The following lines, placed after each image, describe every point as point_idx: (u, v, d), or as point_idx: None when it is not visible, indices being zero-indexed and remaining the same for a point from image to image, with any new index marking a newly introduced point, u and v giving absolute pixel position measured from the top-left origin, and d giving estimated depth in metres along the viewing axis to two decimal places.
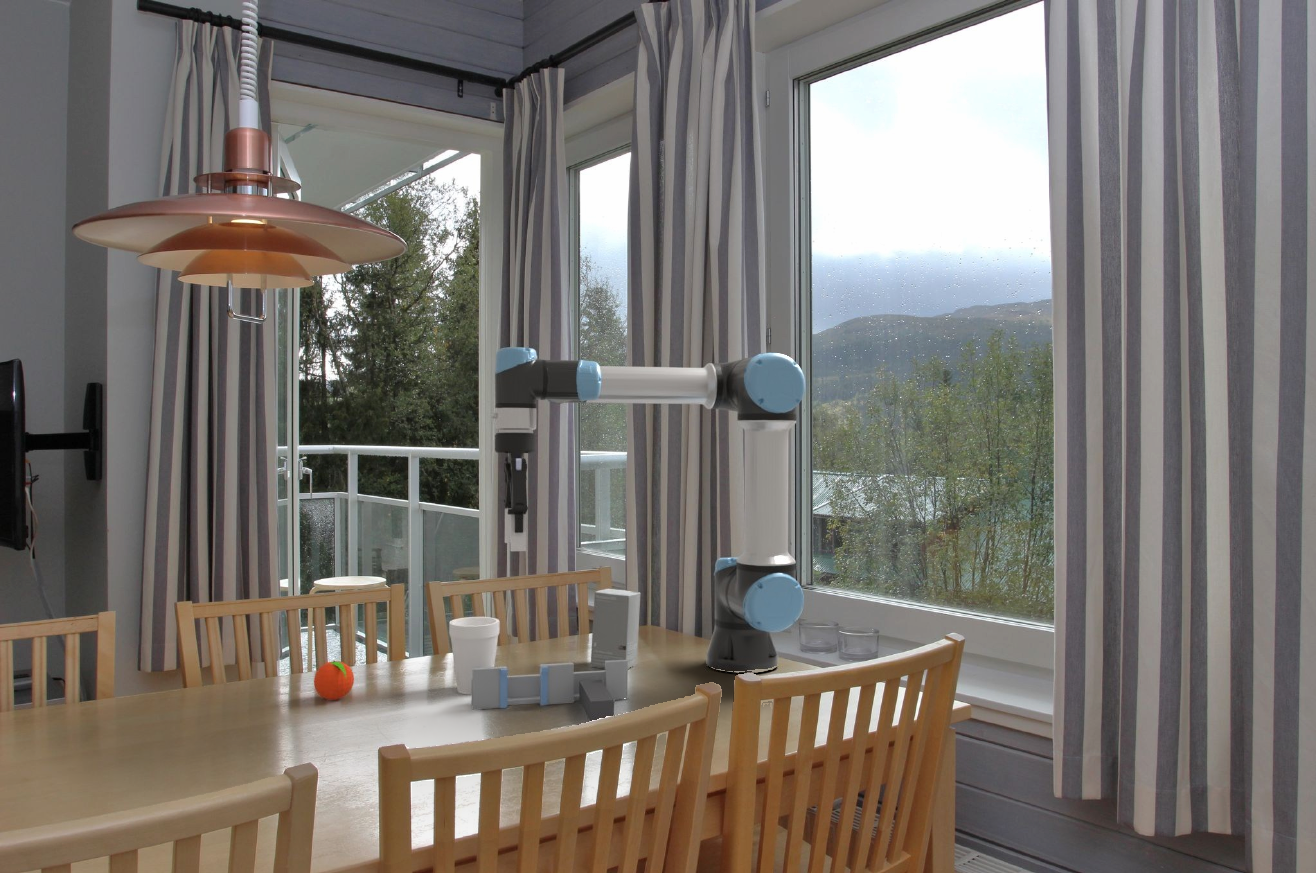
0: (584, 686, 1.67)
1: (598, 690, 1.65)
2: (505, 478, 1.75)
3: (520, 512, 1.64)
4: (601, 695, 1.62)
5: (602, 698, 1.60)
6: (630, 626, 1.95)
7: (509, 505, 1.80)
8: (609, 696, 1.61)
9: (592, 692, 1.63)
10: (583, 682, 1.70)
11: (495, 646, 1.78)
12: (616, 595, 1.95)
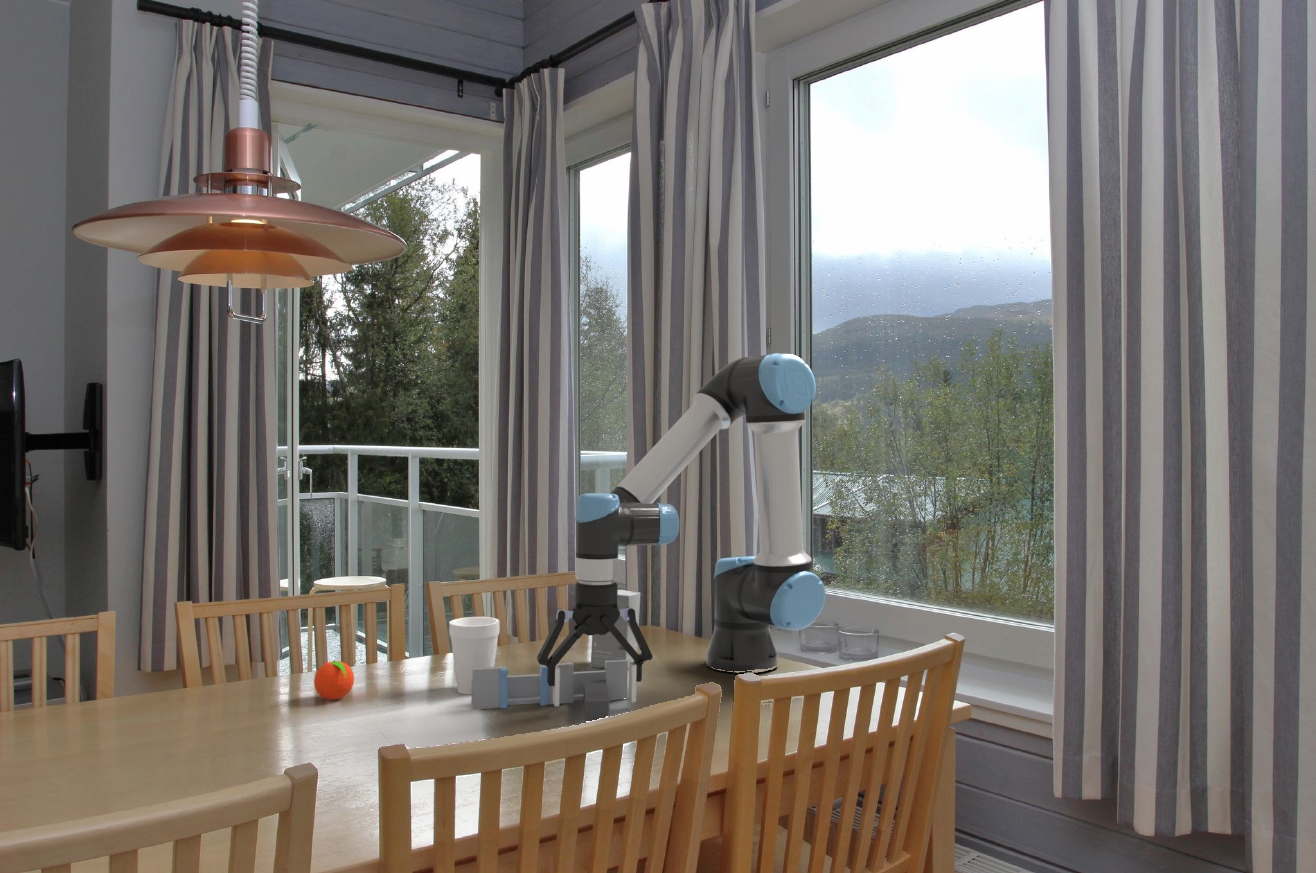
0: (586, 686, 1.67)
1: (597, 690, 1.65)
2: None
3: (543, 664, 1.63)
4: (598, 696, 1.61)
5: (597, 698, 1.60)
6: None
7: (634, 659, 1.67)
8: (606, 697, 1.61)
9: (591, 692, 1.64)
10: (587, 682, 1.71)
11: (495, 646, 1.78)
12: None
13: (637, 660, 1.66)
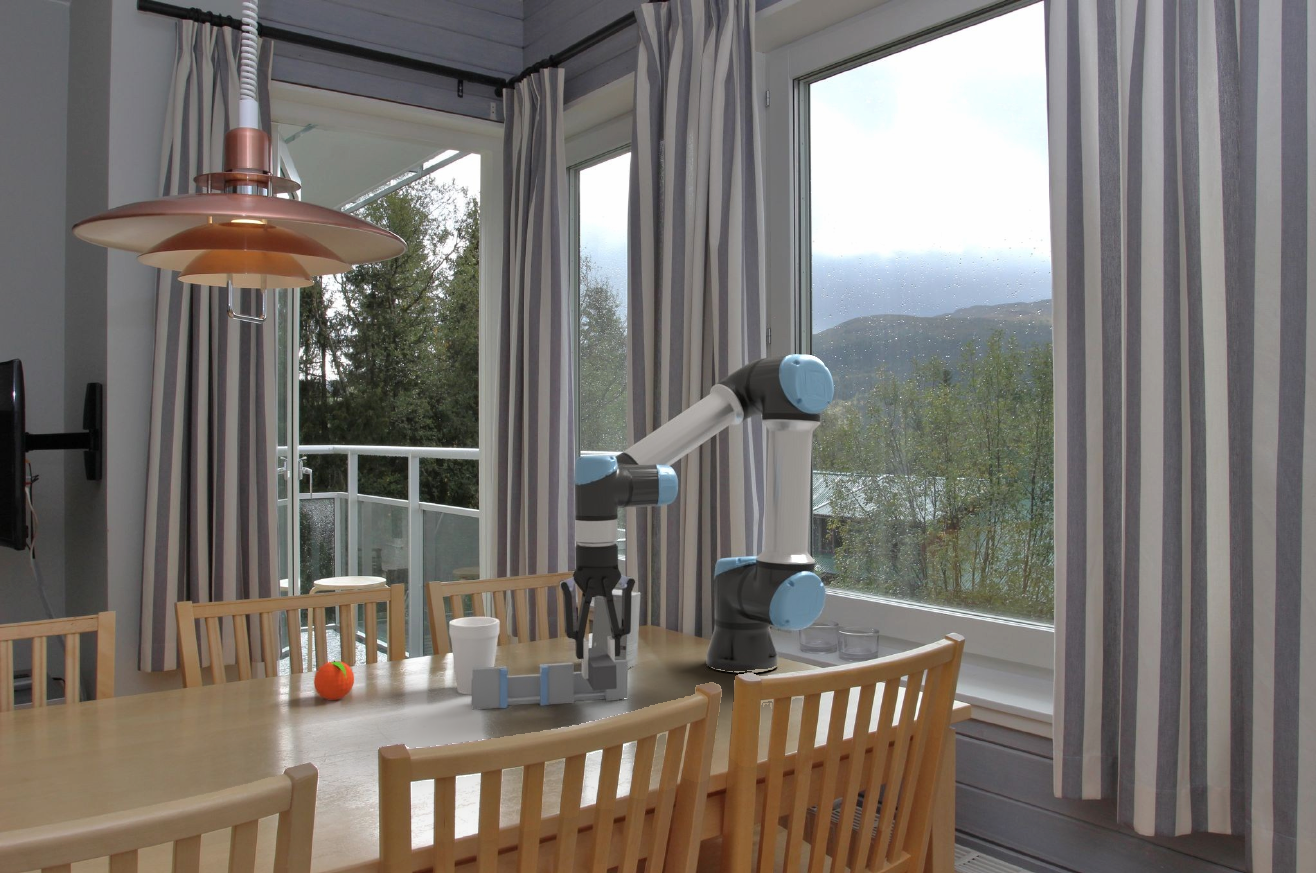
0: None
1: (600, 656, 1.65)
2: None
3: None
4: (603, 661, 1.62)
5: (604, 664, 1.60)
6: None
7: (612, 634, 1.67)
8: (611, 662, 1.61)
9: (594, 658, 1.64)
10: None
11: (495, 646, 1.78)
12: (616, 595, 1.95)
13: (615, 634, 1.65)
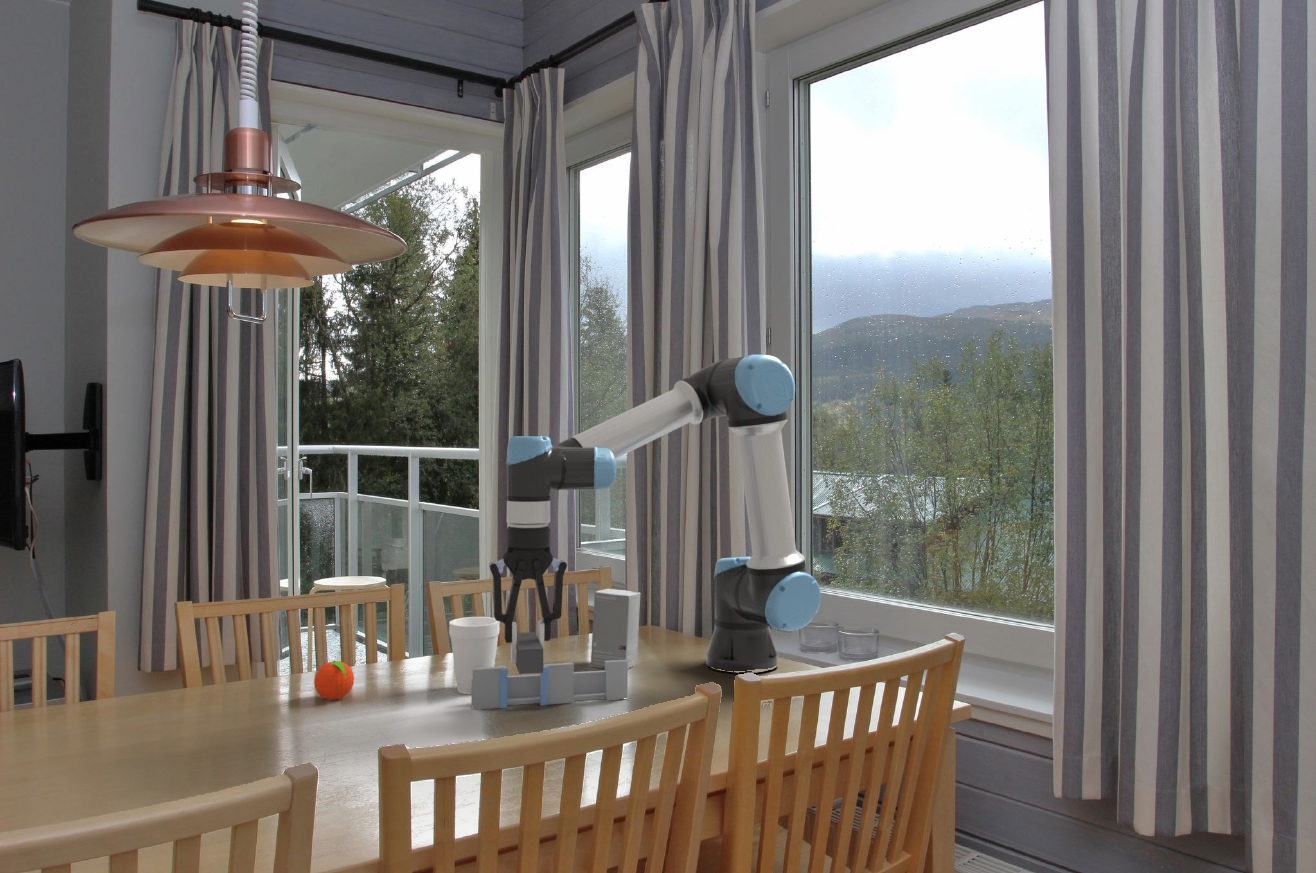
0: None
1: (529, 640, 1.62)
2: None
3: (500, 621, 1.61)
4: (531, 645, 1.59)
5: (531, 647, 1.57)
6: (630, 626, 1.95)
7: None
8: (539, 645, 1.58)
9: (523, 642, 1.60)
10: None
11: (495, 646, 1.78)
12: (616, 595, 1.95)
13: (545, 618, 1.62)
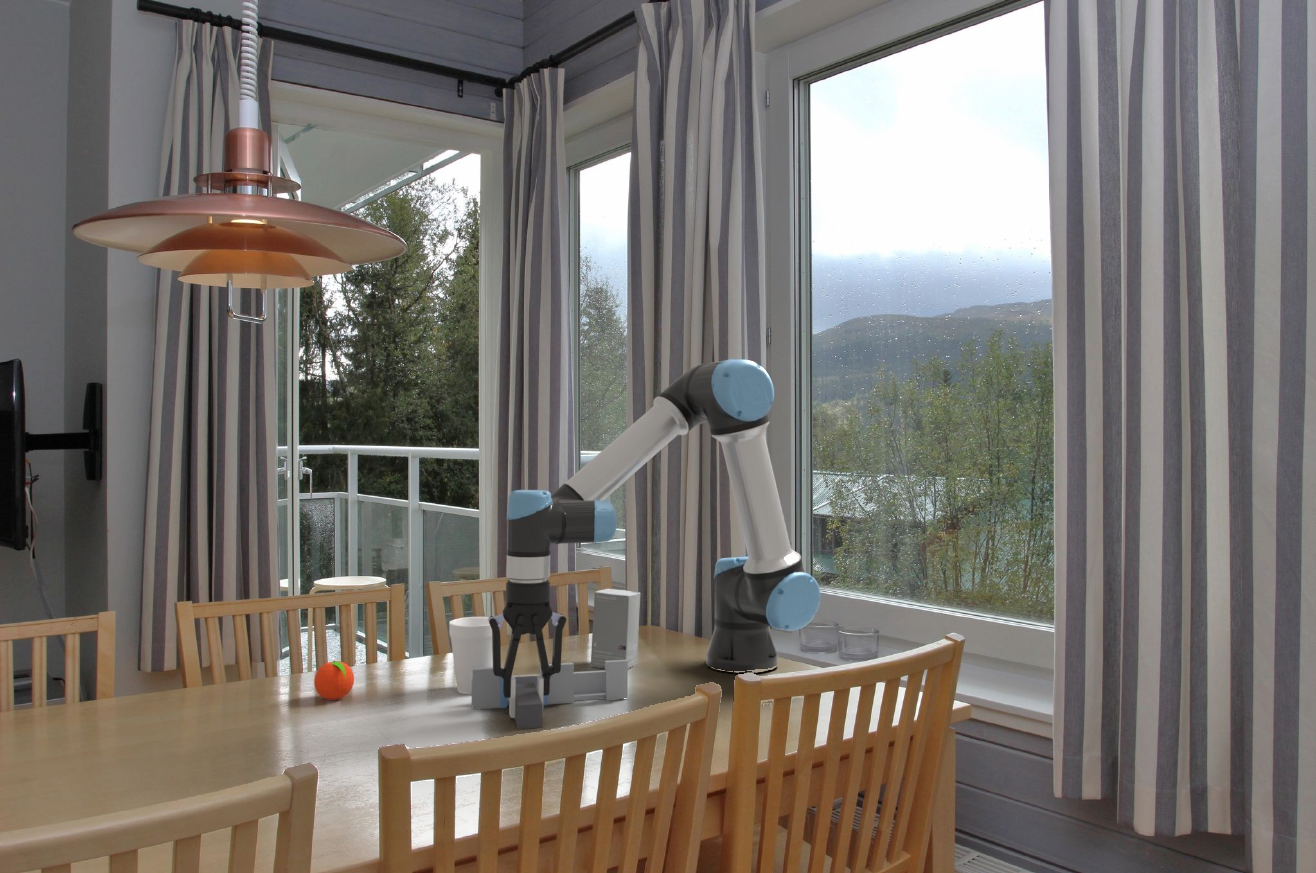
0: None
1: (528, 693, 1.62)
2: None
3: (499, 675, 1.61)
4: (530, 699, 1.58)
5: (530, 702, 1.57)
6: (630, 626, 1.95)
7: (542, 672, 1.63)
8: (538, 700, 1.58)
9: (522, 696, 1.60)
10: None
11: None
12: (616, 595, 1.95)
13: (545, 672, 1.62)
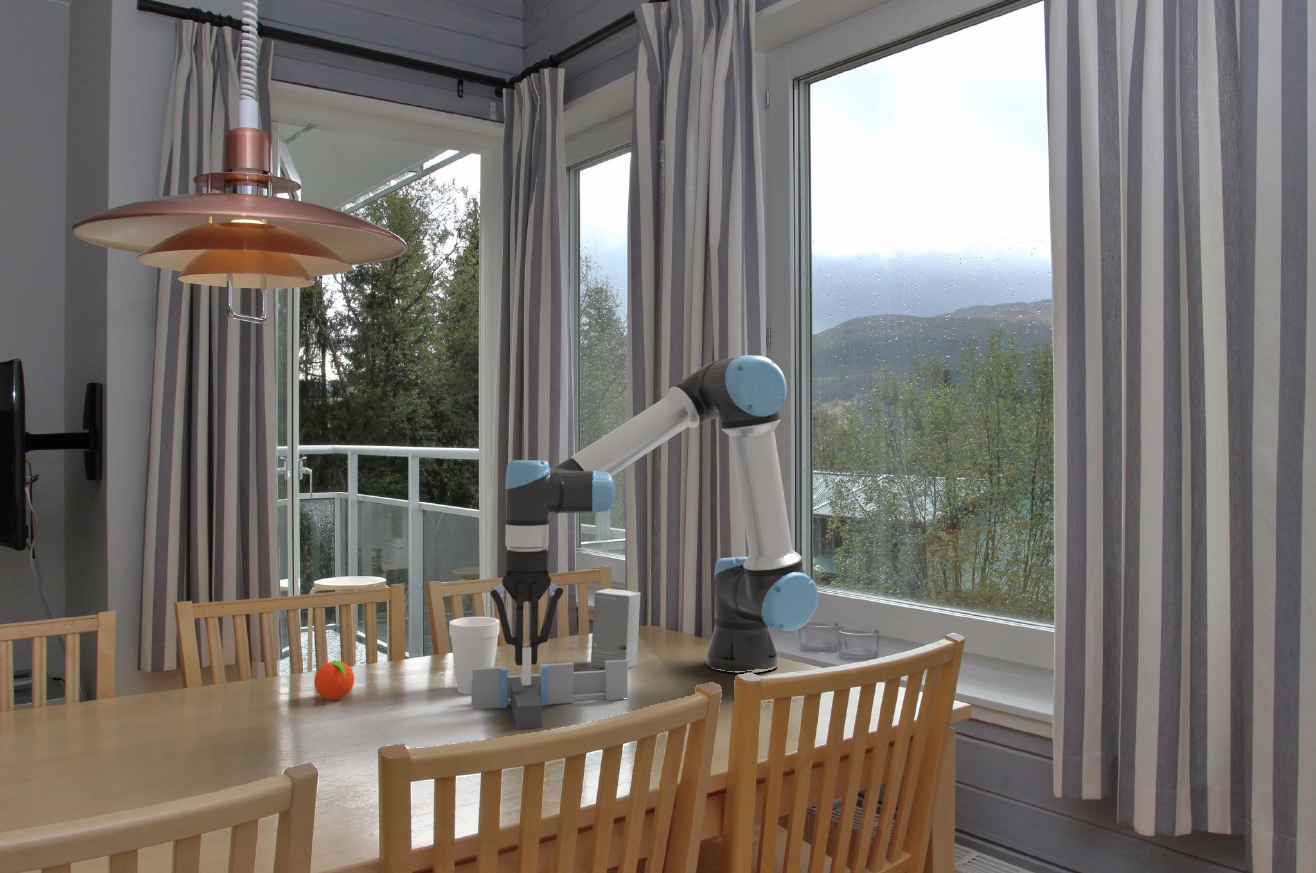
0: (515, 691, 1.64)
1: (528, 694, 1.62)
2: None
3: None
4: (529, 700, 1.58)
5: (530, 703, 1.57)
6: (630, 626, 1.95)
7: None
8: (538, 701, 1.58)
9: (521, 697, 1.60)
10: (514, 686, 1.67)
11: (495, 646, 1.78)
12: (616, 595, 1.95)
13: (533, 641, 1.63)
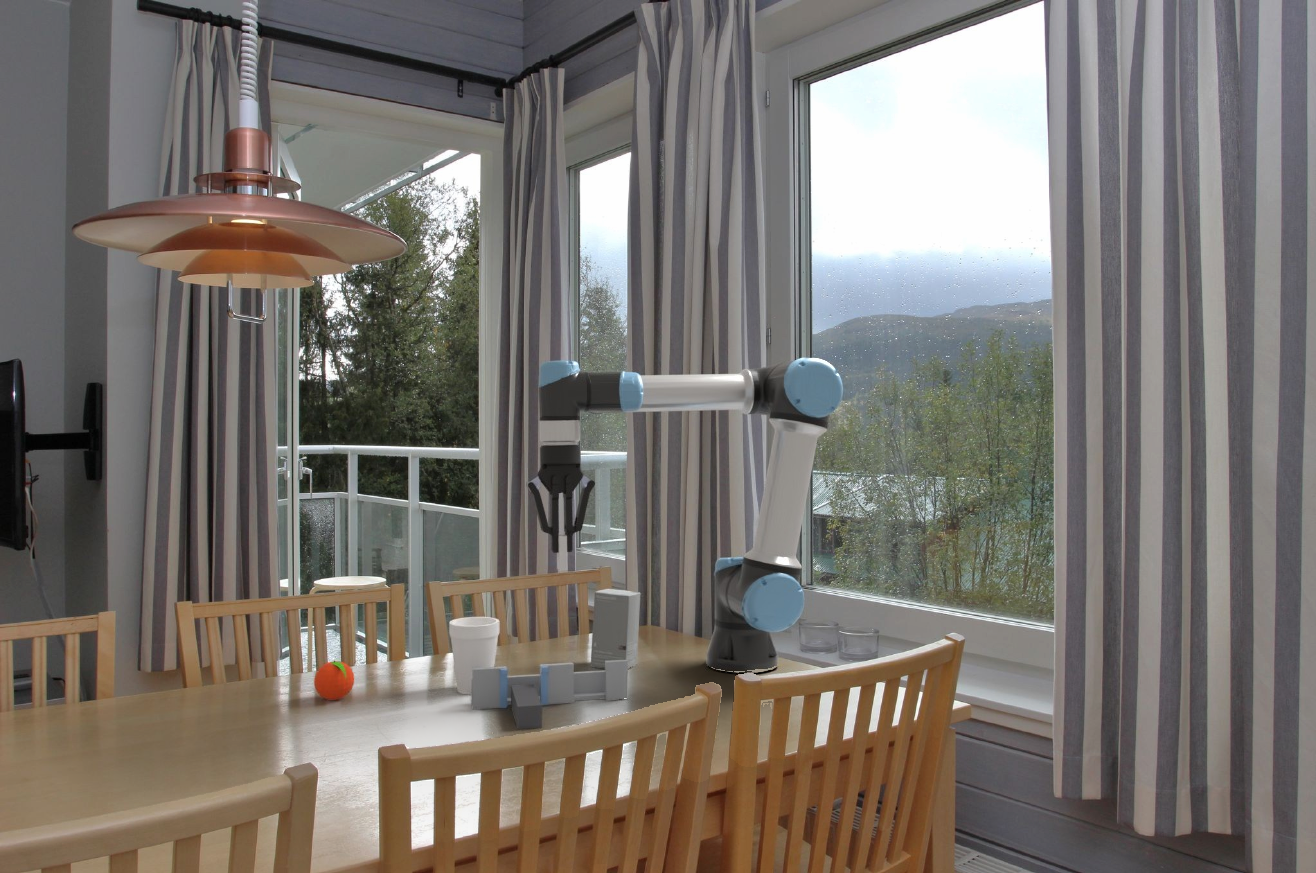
0: (515, 691, 1.64)
1: (528, 694, 1.62)
2: None
3: None
4: (529, 700, 1.58)
5: (530, 703, 1.57)
6: (630, 626, 1.95)
7: (564, 531, 1.76)
8: (538, 701, 1.58)
9: (521, 697, 1.60)
10: (514, 686, 1.67)
11: (495, 646, 1.78)
12: (616, 595, 1.95)
13: (568, 530, 1.75)
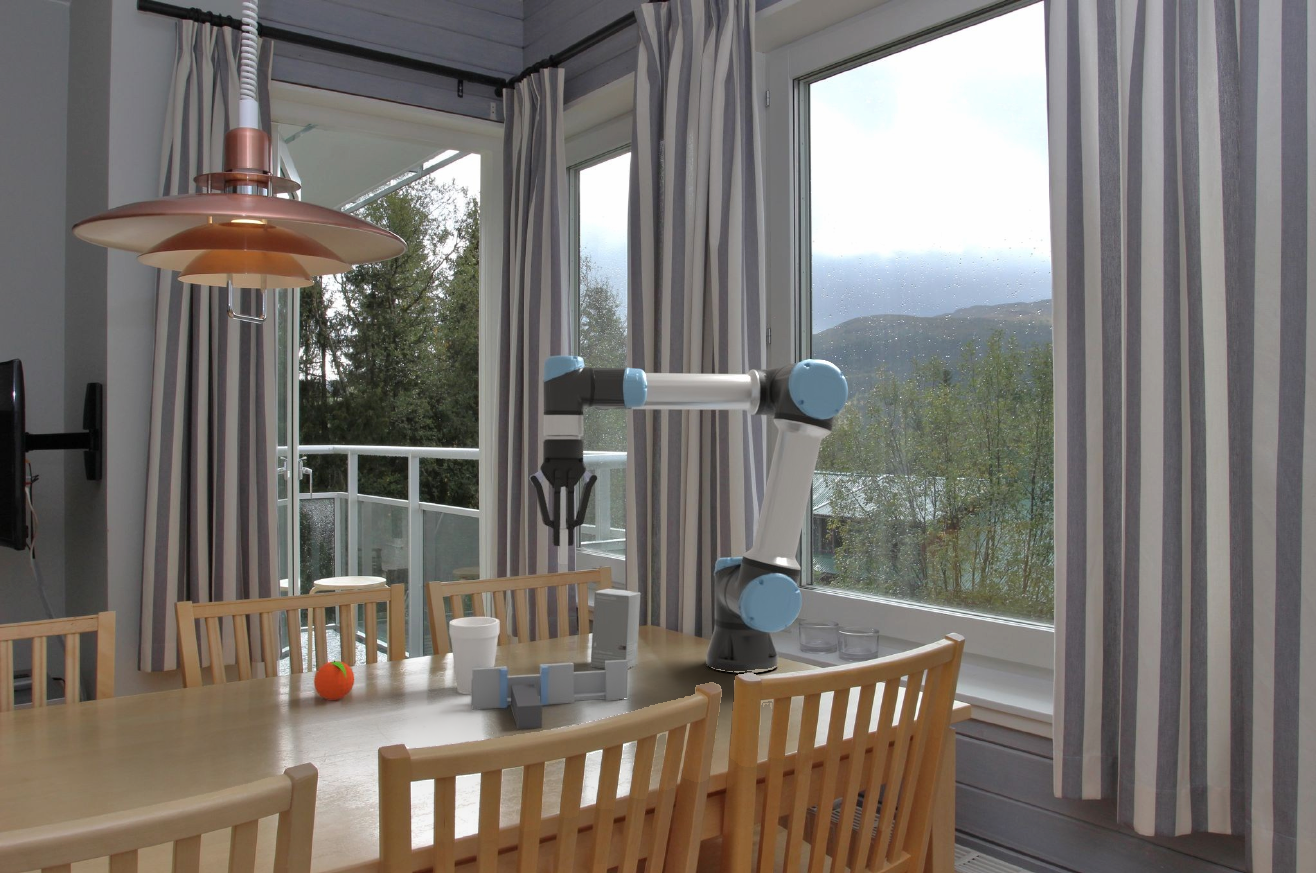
0: (515, 691, 1.64)
1: (528, 694, 1.62)
2: None
3: None
4: (529, 700, 1.58)
5: (530, 703, 1.57)
6: (630, 626, 1.95)
7: (566, 525, 1.78)
8: (538, 701, 1.58)
9: (522, 697, 1.60)
10: (515, 686, 1.67)
11: (495, 646, 1.78)
12: (616, 595, 1.95)
13: (569, 524, 1.76)
